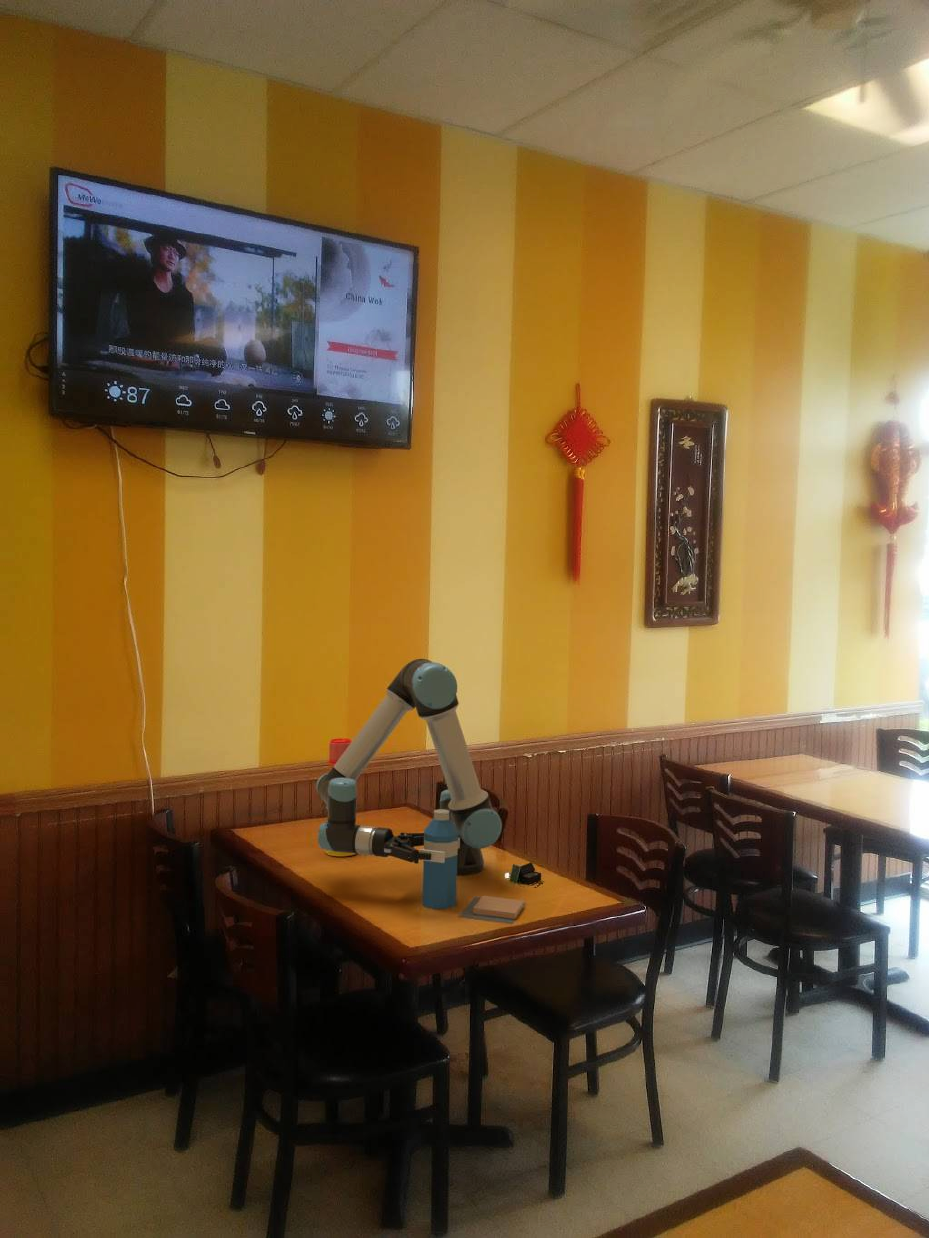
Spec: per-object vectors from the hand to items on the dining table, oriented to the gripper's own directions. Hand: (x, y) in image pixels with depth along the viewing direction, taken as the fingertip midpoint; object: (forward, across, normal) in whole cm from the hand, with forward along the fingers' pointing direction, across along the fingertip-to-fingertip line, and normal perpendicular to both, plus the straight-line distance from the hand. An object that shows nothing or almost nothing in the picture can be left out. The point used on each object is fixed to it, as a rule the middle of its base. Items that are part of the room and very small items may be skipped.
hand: (452, 850), depth 266 cm
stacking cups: (-44, -34, -15) cm, 58 cm away
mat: (+11, 0, -15) cm, 19 cm away
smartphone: (+14, -28, -16) cm, 36 cm away
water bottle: (-3, 0, -15) cm, 16 cm away
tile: (+7, 0, -13) cm, 15 cm away
